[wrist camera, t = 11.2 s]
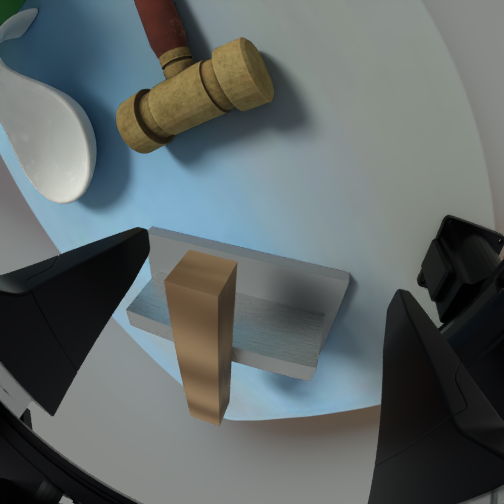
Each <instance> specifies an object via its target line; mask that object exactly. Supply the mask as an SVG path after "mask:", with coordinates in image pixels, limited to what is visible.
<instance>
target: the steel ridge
mask: <svg viewBox="0 0 504 504" xmlns="http://www.w3.org/2000/svg"><path fill="white" fill-rule="evenodd" d="M169 274H170V273H167V272H164V271H160V270H158V271H157V273H156V274H155V275H154V276H153V277H152V279H151V280H150V281H149V282H148V283H147V285H146V286H145V287H144V288H143V289H142V291H141V292H140V293H139V294H138V295H137V297H136V298H135V299H134V300H133V302H132V303H131V304H130V305H129V307H128V308H127V309H126V311H127V315H128V318H129V321H130V324H131V325H132V326H135V327H137V328H139V329H142V330H144V331H147V332H149V333H152V334H155V335H157V336H160V337H162V338H165V339H168V340H171V341H173V342H174V338H173V333H172V328H171V322H170V316H169V310H168V304H167V298H166V292H165V285H164V280H165V279H166V277H167V276H168V275H169ZM324 317H325V314H323V313H318V312H314V311H310V310H306V309H301V308H297V307H293V306H289V305H285V304H281V303H277V302H273V301H269V300H265V299H261V298H257V297H253V296H250V295H246V294H242V293H238V292H236V293H235V309H234V326H233V343H232V361H234V362H237V363H240V364H244V365H247V366H251V367H254V368H258V369H262V370H265V371H269V372H273V373H277V374H281V375H285V376H289V377H293V378H298V379H302V380H307V381H310V380H311V378H312V376H313V374H314V372H315V370H316V367H317V361H318V355H319V349H320V343H321V337H322V330H323V324H324Z"/></svg>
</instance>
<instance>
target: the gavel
mask: <svg viewBox="0 0 504 504" xmlns="http://www.w3.org/2000/svg"><path fill="white" fill-rule="evenodd" d="M134 2H135V5H136V8H137V10H138V13H139V16H140V19H141V21H142V24H143V27H144V30H145V32H146V35H147V38H148V41H149V43H150V46H151V48H152V50H153V51H154V53H155V54H156V56H157V58H158V59H159V61H160V64H161V67H162V69H163V70H164V71H163V73H164V76H165V78H166V80H165V81H163V82H161V83H159V84H158V85H156V86H154V87H153V88H152V89H142V90H140V91H139V92H137V93H136V94H134V95H133V96H131V97H130V98H128V99H127V100H125V101H124V102H122V103H121V104H120V106H119V108H118V110H117V114H116V122H117V127H118V130H119V133H120V135H121V137H122V138H123V140H124V141H125V142H126V144H127V145H128V146H129V147H131V148H132V149H133V150H135V151H137V152H139V153H145V154H146V153H150V152H152V151H154V150H156V149H158V148H160V147H162V146H164V145H166V144H168V143H170V142H171V141H172V140H173V138H174V136H175V135H177V134H179V133H182V132H184V131H186V130H188V129H190V128H193V127H195V126H197V125H199V124H202V123H204V122H206V121H208V120H211V119H213V118H216V117H218V116H220V115H223V114H225V113H228V112H230V110H231V109H232V108H234V107H236V108H237V109H239V110H241V111H247V110H249V109H252V108H255V107H258V106H261V105H263V104H266V103H269V102H272V100H273V97H274V87H273V83H272V80H271V77H270V75H269V72H268V70H267V68H266V65H265V63H264V60H263V58H262V56H261V55H260V53H259V51H258V50H257V48H256V47H255V46H254V44H253V43H252V42H251V41H249V40H247V39H246V38H243V37H241V38H239V39H236V40H234V41H232V42H229V43H227V44H225V45H223V46H220V47H218V48H216V49H214V50H213V53H212V58H211V59H209V60H202V61H200V62H198V63H196V64H195V62H194V60H193V59H192V55H191V53H190V50H189V47H188V41H187V36H186V32H185V29H184V27H183V24H182V22H181V20H180V17H179V15H178V12H177V10H176V7H175V5H174V3H173V0H134Z"/></svg>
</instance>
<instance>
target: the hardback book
mask: <svg viewBox="0 0 504 504" xmlns="http://www.w3.org/2000/svg"><path fill="white" fill-rule="evenodd" d="M25 1H26V0H0V26H1V25H2V24H3V23H4V22H5V21H6V20H8V19H9V18H10V17H12V16H13V15H15V14H17V12H18V11H19V9H20V8H21V6H22V5H23V3H24V2H25Z"/></svg>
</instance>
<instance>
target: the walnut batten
mask: <svg viewBox="0 0 504 504" xmlns="http://www.w3.org/2000/svg"><path fill="white" fill-rule="evenodd" d="M236 277H237V261H233V260H229V259H225V258H221V257H217V256H213V255H209V254H205V253H201V252H197V251H193V250H188V251H187V253H186V254H185V255H184V256H183V258H182V259H181V260H180V261H179V262H178V264H177V265H176V266H175V267H174V269H173V270H172V271H171V272H170V274H169V275H168V276H167V277H166V279H165V280H164V285H165V292H166V298H167V304H168V310H169V316H170V322H171V328H172V333H173V338H174V344H175V349H176V354H177V358H178V363H179V368H180V372H181V377H182V381H183V386H184V390H185V394H186V398H187V402H188V406H189V410H190V414H191V416H193V417H195V418H198V419H201V420H204V421H207V422H210V423H212V424H215V425H219V426H220V424H221V421H222V419H223V416H224V414H225V411H226V409H227V406H228V404H229V400H230V380H231V361H232V343H233V326H234V309H235V293H236Z"/></svg>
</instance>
